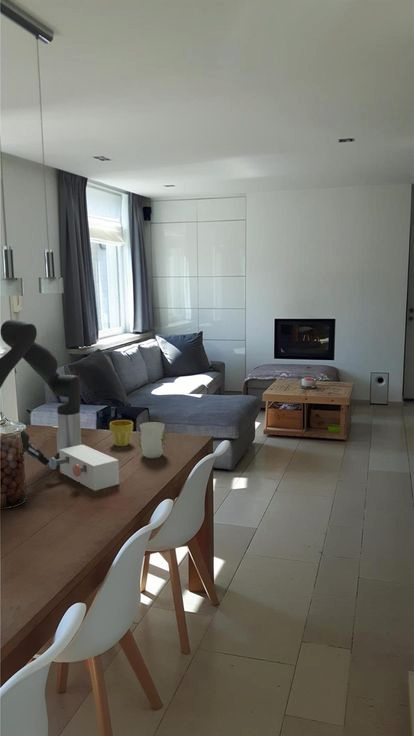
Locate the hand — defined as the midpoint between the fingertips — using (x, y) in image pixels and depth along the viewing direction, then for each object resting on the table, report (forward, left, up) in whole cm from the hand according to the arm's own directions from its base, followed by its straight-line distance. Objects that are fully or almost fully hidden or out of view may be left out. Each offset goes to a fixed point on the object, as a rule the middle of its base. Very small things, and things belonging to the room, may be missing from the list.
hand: (46, 462), depth 210 cm
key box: (+13, +7, -7) cm, 16 cm away
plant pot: (+8, +51, -7) cm, 52 cm away
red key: (+16, 0, -3) cm, 16 cm away
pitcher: (+27, +39, -7) cm, 48 cm away
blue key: (+3, +5, -3) cm, 7 cm away
